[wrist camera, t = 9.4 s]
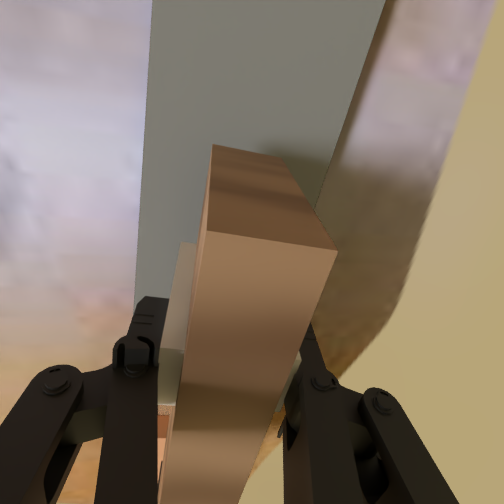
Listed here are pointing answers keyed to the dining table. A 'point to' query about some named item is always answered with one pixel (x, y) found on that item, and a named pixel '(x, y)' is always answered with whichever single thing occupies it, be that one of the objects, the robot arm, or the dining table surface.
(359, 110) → the dining table surface
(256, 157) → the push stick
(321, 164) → the mat
